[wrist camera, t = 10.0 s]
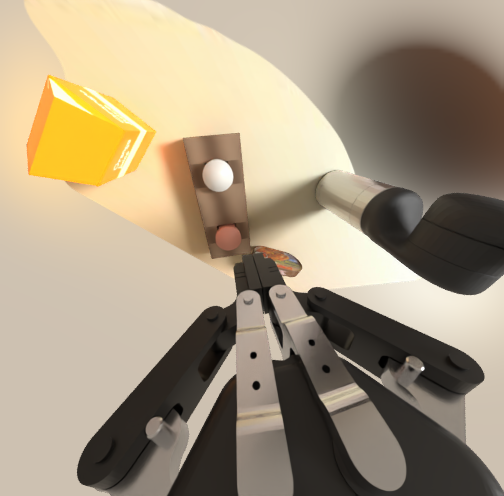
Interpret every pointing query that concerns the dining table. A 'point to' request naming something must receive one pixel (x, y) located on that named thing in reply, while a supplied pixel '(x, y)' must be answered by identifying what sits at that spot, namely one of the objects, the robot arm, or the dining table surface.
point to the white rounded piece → (217, 175)
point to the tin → (281, 260)
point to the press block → (220, 203)
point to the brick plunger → (228, 237)
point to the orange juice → (84, 136)
